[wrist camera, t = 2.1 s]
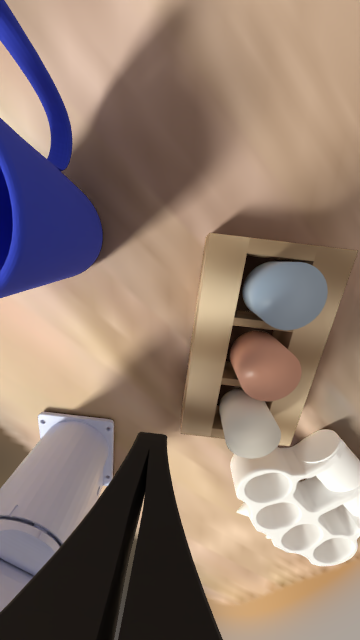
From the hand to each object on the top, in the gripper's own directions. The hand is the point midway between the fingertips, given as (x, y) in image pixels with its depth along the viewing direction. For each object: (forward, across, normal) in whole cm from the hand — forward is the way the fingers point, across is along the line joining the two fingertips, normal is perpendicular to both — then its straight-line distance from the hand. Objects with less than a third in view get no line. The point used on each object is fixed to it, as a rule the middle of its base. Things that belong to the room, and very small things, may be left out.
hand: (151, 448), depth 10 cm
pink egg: (+7, -7, -2) cm, 10 cm away
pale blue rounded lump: (+7, -7, -8) cm, 13 cm away
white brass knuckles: (+11, -17, +15) cm, 25 cm away
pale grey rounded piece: (+7, -7, +3) cm, 10 cm away
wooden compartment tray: (+10, -7, -2) cm, 12 cm away
